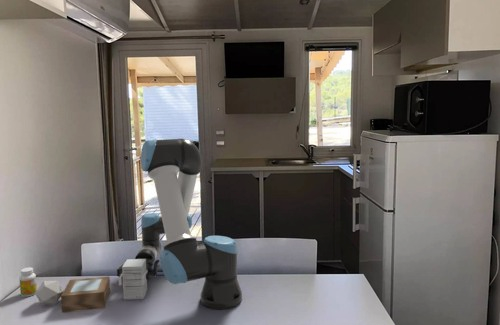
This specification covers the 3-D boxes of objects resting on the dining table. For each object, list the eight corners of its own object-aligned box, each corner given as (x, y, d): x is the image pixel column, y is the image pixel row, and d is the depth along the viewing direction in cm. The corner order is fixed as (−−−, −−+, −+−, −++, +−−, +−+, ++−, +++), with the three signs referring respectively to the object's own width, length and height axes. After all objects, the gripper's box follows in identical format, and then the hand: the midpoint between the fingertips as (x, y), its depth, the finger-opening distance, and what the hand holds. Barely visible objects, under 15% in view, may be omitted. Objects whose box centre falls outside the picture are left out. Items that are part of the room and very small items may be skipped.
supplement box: (128, 290, 148) (126, 258, 147) (147, 290, 149) (146, 258, 147) (123, 299, 141) (121, 266, 139) (143, 299, 142) (142, 266, 140)
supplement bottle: (17, 296, 146) (15, 271, 144) (28, 289, 151) (26, 266, 150) (29, 297, 144) (27, 273, 143) (40, 291, 150) (38, 267, 148)
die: (45, 312, 135) (62, 288, 137) (25, 299, 136) (42, 274, 138) (56, 309, 143) (72, 286, 145) (37, 296, 144) (53, 273, 146)
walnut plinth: (110, 291, 149) (109, 276, 148) (104, 308, 137) (103, 291, 136) (71, 294, 146) (70, 279, 146) (62, 312, 134) (60, 295, 133)
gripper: (171, 265, 163) (160, 290, 140) (122, 266, 162) (103, 291, 139) (170, 248, 162) (159, 270, 139) (121, 249, 161) (101, 271, 138)
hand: (131, 281), depth 139 cm, fingers closed on supplement box, 7 cm apart
